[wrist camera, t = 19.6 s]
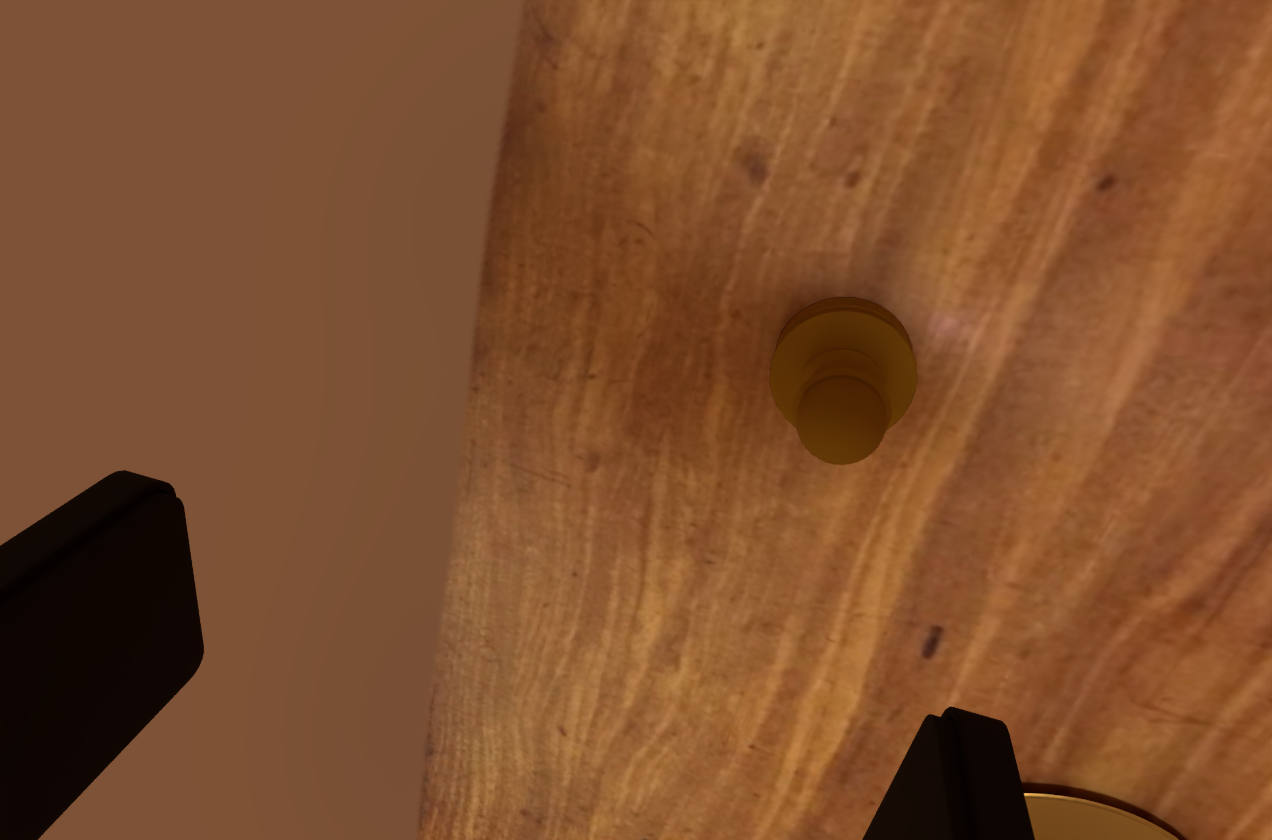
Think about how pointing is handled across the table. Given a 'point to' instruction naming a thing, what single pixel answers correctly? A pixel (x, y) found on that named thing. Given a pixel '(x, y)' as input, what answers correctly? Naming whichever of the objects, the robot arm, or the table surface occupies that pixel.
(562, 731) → the table surface
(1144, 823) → the cup
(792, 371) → the chess piece
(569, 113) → the table surface
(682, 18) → the table surface
